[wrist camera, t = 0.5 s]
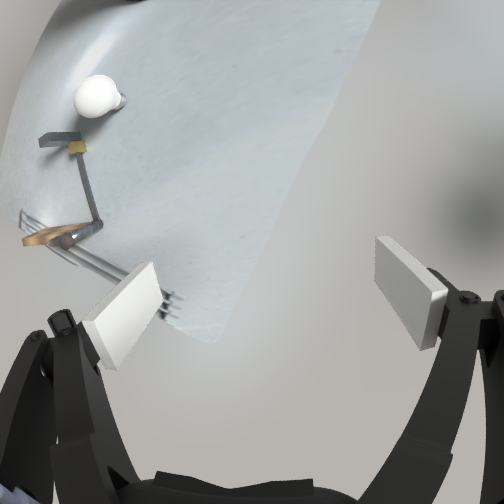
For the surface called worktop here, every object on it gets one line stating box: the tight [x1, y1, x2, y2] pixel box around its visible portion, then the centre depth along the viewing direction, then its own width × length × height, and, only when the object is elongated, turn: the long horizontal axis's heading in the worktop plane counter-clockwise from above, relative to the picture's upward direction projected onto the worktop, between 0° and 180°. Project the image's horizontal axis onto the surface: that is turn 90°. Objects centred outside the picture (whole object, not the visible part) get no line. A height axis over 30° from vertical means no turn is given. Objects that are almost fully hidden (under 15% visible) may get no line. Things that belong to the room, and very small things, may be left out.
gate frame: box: [38, 132, 103, 244], centre depth 37 cm, size 19×3×9 cm, turn 14°
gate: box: [22, 222, 90, 250], centre depth 40 cm, size 17×2×10 cm, turn 94°
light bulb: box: [74, 75, 126, 118], centre depth 31 cm, size 7×7×11 cm
